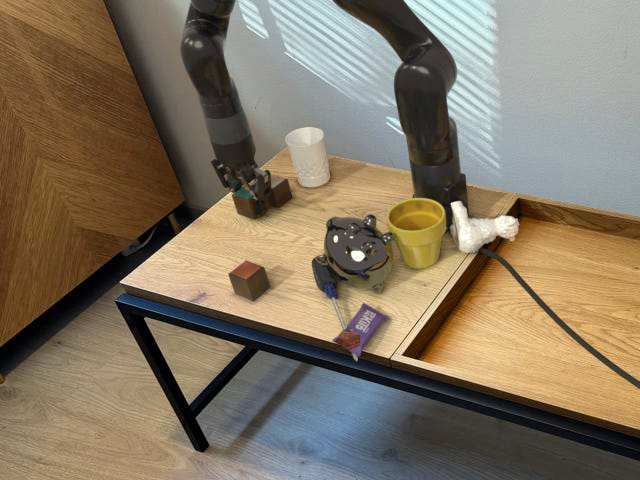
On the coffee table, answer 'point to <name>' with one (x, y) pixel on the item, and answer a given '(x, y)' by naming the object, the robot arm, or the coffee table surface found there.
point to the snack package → (360, 329)
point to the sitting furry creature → (479, 229)
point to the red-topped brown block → (249, 280)
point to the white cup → (309, 156)
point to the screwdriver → (328, 287)
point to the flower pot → (418, 230)
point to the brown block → (279, 192)
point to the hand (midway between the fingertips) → (253, 209)
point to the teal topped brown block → (246, 203)
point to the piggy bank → (358, 252)
